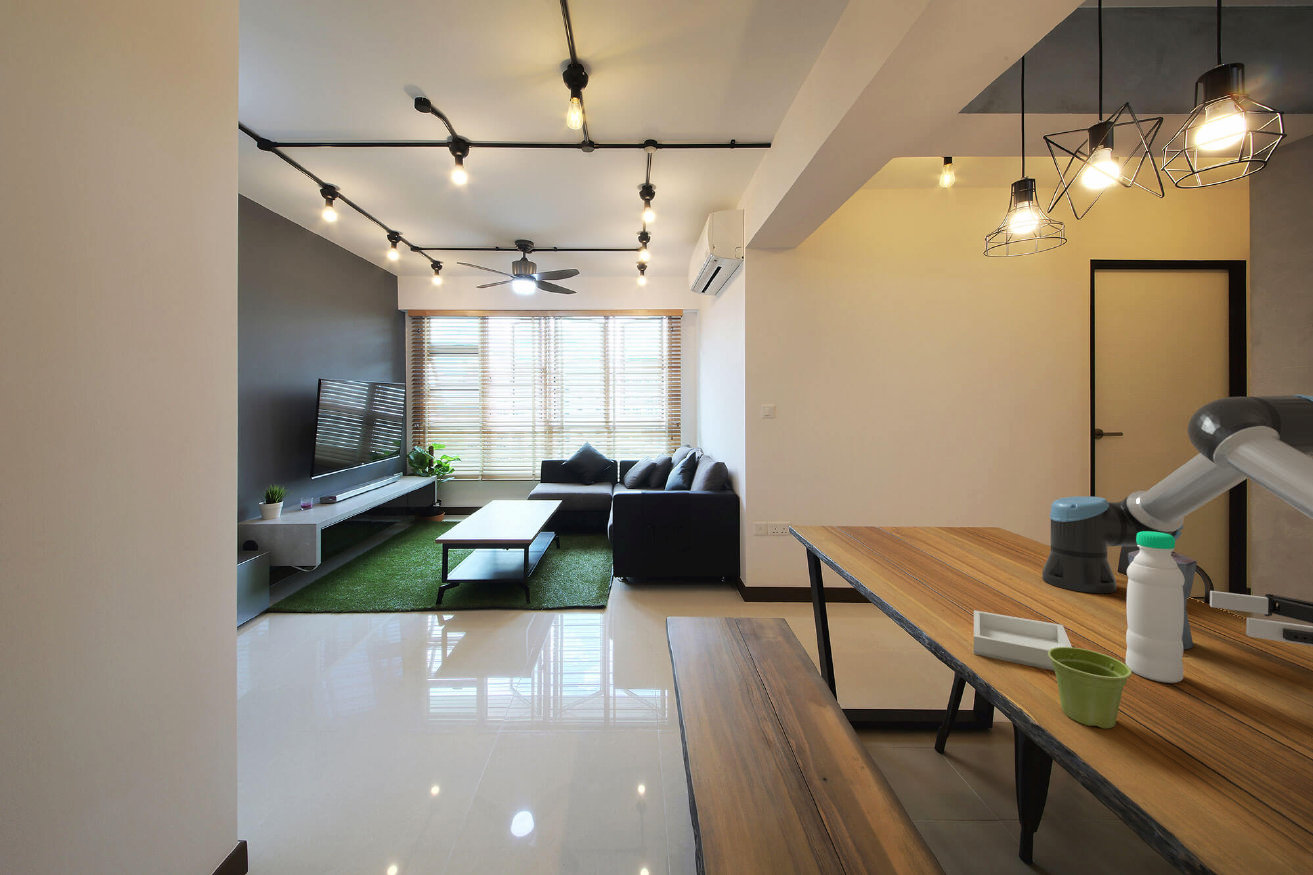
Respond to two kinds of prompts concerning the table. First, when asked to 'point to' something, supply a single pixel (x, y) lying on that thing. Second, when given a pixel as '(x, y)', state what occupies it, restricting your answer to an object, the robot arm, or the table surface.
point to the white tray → (1017, 639)
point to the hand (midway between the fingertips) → (1227, 611)
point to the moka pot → (1188, 572)
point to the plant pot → (1089, 685)
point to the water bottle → (1155, 610)
